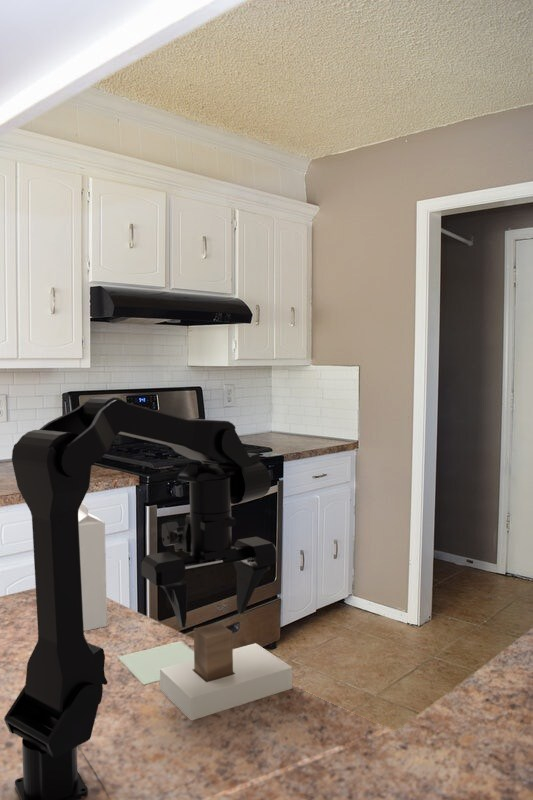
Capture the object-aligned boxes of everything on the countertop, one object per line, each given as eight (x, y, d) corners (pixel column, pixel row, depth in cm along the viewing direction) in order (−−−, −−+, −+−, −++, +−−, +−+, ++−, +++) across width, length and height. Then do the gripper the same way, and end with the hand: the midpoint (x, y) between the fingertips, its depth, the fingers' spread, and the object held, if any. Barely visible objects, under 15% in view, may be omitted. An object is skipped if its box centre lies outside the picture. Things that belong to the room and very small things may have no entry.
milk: (73, 633, 119) (69, 509, 117) (65, 622, 124) (61, 502, 122) (108, 626, 122) (104, 504, 120) (98, 615, 127) (95, 498, 125)
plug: (233, 694, 95) (232, 631, 95) (207, 702, 93) (206, 638, 93) (219, 683, 99) (218, 622, 98) (194, 690, 97) (193, 628, 96)
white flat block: (292, 691, 97) (292, 667, 97) (190, 724, 89) (190, 697, 88) (256, 665, 105) (255, 643, 105) (160, 692, 97) (159, 668, 97)
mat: (211, 669, 104) (211, 665, 104) (143, 688, 98) (143, 684, 98) (180, 644, 113) (180, 641, 113) (117, 660, 108) (117, 656, 108)
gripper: (239, 493, 106) (240, 591, 107) (125, 507, 96) (127, 615, 97) (278, 505, 97) (279, 613, 98) (156, 523, 87) (159, 642, 88)
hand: (212, 619), depth 95 cm, fingers open, 9 cm apart
